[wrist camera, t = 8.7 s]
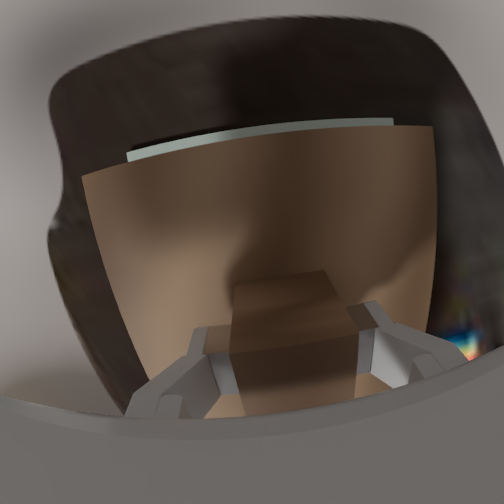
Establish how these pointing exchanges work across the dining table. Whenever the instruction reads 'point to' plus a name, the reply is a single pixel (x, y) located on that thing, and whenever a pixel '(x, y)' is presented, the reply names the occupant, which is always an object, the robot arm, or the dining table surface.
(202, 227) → the lid
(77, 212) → the dining table surface
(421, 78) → the dining table surface
